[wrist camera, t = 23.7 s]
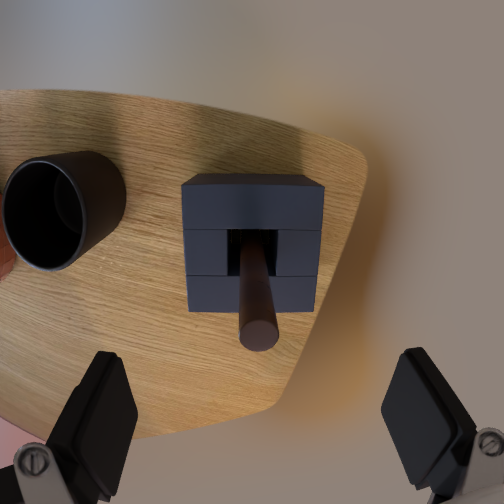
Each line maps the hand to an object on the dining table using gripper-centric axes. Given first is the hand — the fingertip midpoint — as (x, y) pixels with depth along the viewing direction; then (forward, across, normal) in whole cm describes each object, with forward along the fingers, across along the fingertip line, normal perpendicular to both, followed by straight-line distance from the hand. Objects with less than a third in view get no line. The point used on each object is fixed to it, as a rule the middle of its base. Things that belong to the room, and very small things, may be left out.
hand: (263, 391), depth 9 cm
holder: (+22, 0, +1) cm, 22 cm away
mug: (+22, +18, -3) cm, 29 cm away
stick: (+22, 0, +1) cm, 22 cm away
